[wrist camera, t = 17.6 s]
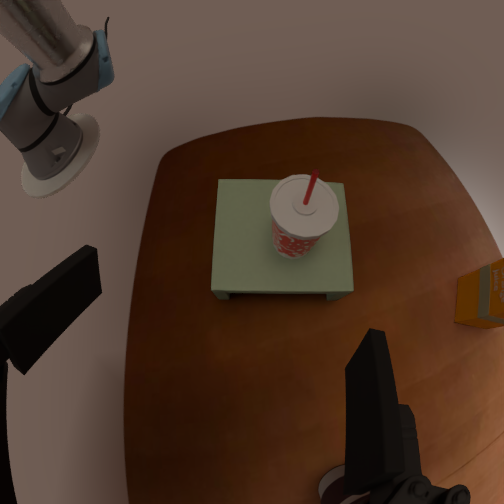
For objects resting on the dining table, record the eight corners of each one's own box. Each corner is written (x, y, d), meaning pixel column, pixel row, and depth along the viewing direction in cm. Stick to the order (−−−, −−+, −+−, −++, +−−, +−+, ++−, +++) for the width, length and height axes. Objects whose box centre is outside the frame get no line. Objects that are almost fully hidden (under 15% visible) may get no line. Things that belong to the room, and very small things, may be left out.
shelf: (224, 204, 42) (218, 179, 35) (330, 207, 41) (343, 183, 35) (218, 299, 37) (210, 289, 31) (337, 300, 37) (353, 291, 31)
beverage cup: (258, 224, 33) (260, 148, 20) (307, 210, 34) (334, 133, 20) (276, 273, 31) (291, 220, 18) (326, 256, 32) (371, 198, 18)
